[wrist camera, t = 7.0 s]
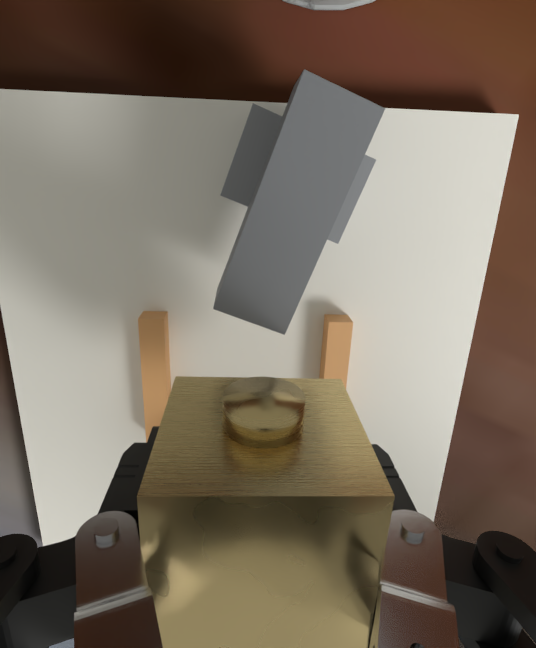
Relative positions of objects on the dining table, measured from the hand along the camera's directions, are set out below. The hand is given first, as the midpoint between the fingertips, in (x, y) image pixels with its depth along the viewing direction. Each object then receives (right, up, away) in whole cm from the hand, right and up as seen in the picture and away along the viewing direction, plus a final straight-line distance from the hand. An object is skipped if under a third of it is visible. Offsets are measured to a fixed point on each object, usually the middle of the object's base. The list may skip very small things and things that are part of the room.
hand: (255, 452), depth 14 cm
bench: (-1, +2, +7) cm, 7 cm away
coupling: (0, 0, 0) cm, 0 cm away
